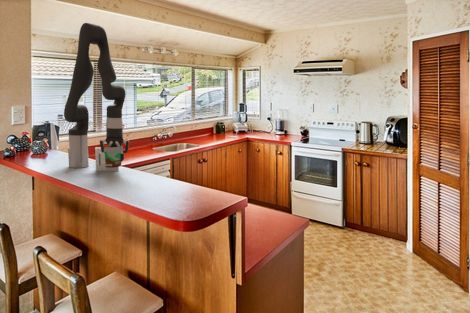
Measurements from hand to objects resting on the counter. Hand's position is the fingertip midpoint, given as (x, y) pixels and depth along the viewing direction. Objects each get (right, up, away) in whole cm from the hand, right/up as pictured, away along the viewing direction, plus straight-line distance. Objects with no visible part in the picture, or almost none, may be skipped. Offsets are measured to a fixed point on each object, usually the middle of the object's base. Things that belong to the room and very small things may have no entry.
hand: (114, 160), depth 176 cm
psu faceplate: (-7, -5, +9) cm, 12 cm away
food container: (+1, -3, 0) cm, 3 cm away
